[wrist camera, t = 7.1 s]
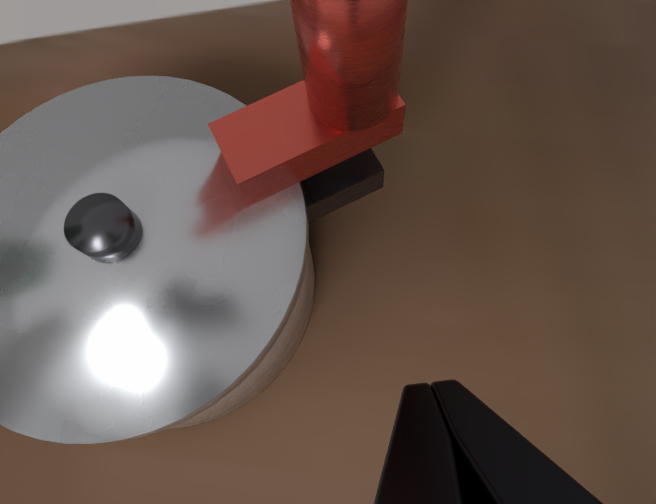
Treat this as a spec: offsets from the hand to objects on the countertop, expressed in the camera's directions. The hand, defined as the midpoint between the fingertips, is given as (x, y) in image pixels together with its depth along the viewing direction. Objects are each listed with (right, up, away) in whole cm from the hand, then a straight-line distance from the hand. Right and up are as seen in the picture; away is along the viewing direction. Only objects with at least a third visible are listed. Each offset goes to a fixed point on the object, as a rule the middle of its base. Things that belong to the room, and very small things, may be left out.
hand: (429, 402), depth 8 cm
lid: (-6, +3, +7) cm, 10 cm away
